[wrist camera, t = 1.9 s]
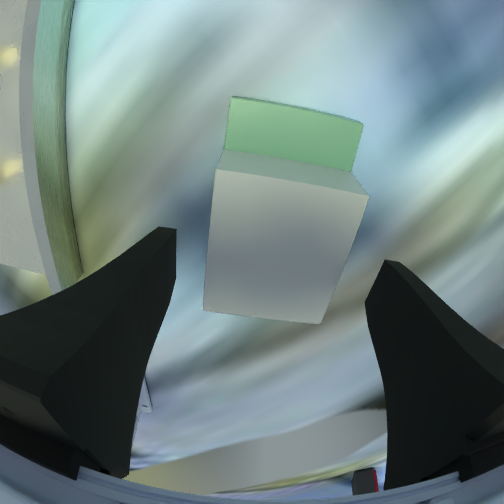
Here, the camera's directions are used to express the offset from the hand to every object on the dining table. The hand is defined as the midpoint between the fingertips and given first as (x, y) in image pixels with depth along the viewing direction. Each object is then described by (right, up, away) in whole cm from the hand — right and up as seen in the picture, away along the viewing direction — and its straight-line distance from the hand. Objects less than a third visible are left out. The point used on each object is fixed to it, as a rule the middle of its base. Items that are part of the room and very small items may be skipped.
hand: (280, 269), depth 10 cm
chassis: (-16, +8, 0) cm, 18 cm away
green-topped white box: (0, +2, +4) cm, 4 cm away
